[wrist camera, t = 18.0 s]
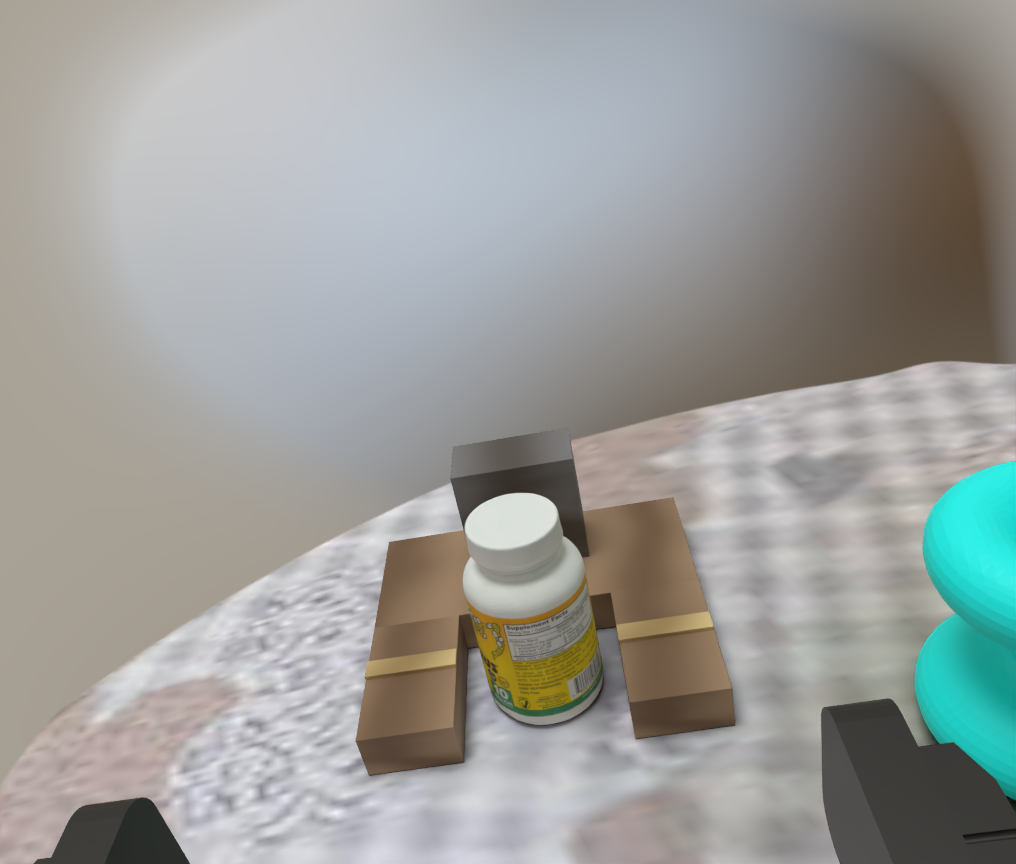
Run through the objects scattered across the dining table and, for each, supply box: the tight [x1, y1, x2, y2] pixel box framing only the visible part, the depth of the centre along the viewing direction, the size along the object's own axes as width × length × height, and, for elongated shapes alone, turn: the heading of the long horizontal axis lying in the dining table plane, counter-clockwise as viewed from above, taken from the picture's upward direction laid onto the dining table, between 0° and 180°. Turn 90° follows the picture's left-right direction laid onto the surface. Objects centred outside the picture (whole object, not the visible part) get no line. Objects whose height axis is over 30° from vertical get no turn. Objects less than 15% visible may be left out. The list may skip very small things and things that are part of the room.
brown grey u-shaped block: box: [356, 428, 735, 775], centre depth 43 cm, size 16×14×8 cm
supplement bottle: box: [463, 493, 603, 725], centre depth 40 cm, size 5×5×10 cm
